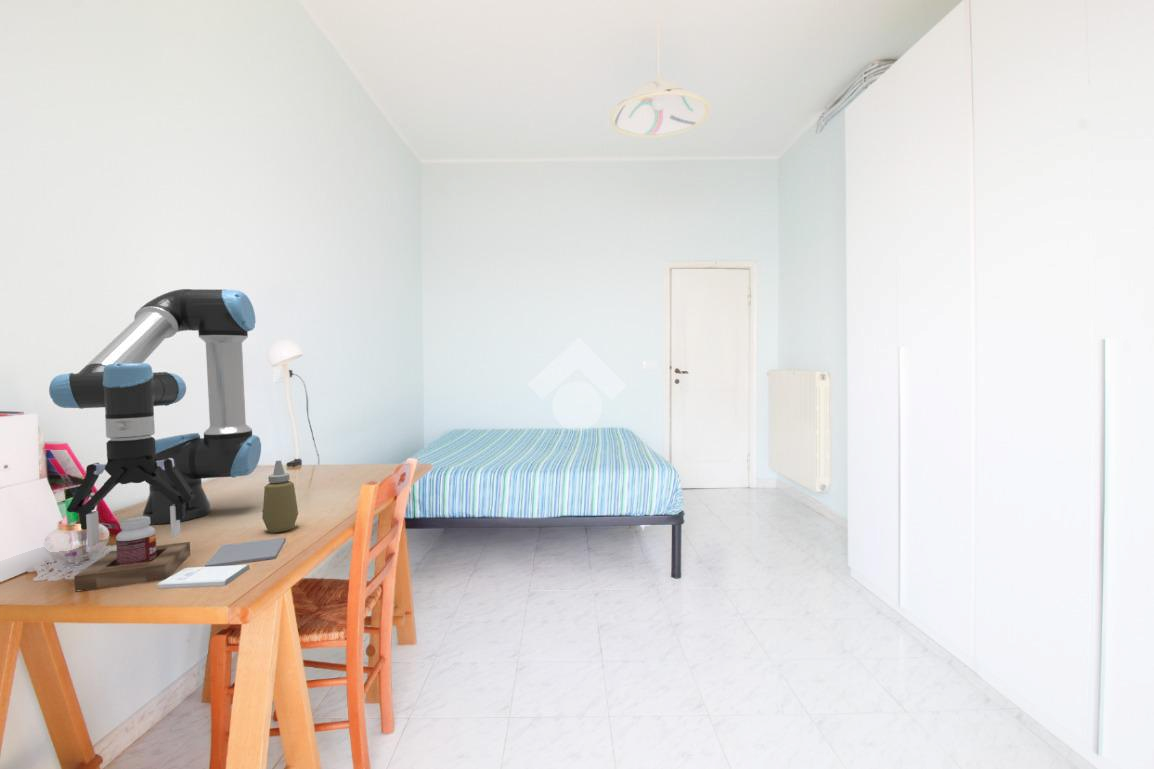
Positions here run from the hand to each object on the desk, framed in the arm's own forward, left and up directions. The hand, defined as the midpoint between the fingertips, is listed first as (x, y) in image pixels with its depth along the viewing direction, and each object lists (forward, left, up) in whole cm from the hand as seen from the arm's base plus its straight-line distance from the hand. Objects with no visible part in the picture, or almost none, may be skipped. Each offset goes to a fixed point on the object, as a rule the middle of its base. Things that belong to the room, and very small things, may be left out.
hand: (135, 539), depth 104 cm
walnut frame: (0, 0, -7) cm, 7 cm away
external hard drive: (+9, +14, -8) cm, 19 cm away
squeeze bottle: (-19, +23, -7) cm, 31 cm away
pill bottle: (0, 0, -7) cm, 7 cm away
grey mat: (-3, +19, -7) cm, 20 cm away
